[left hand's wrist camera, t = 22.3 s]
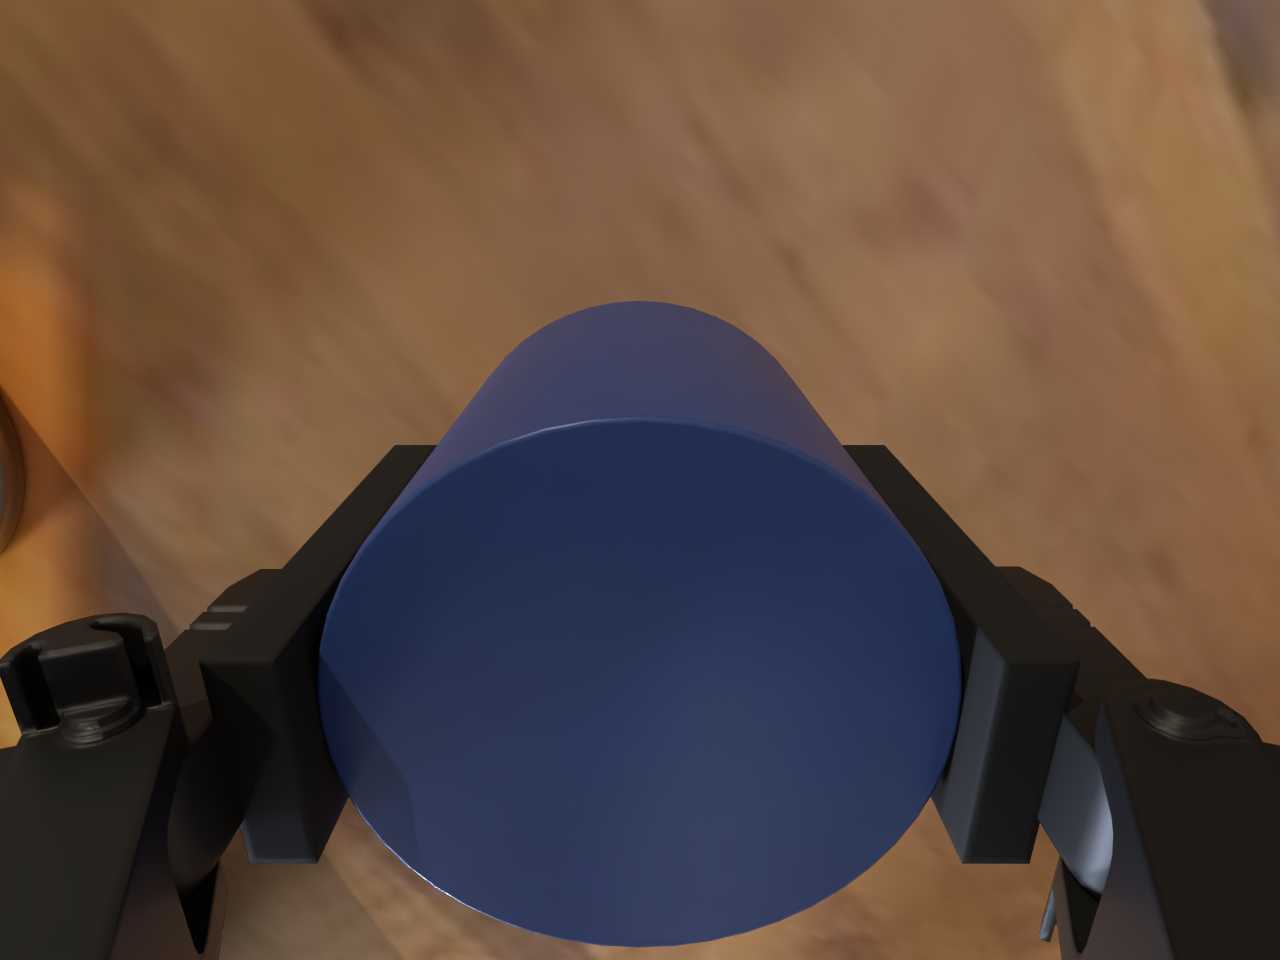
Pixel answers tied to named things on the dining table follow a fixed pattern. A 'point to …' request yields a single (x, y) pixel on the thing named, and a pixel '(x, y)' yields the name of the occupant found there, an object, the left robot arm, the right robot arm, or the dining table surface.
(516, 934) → the dining table surface
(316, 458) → the dining table surface
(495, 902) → the canister
